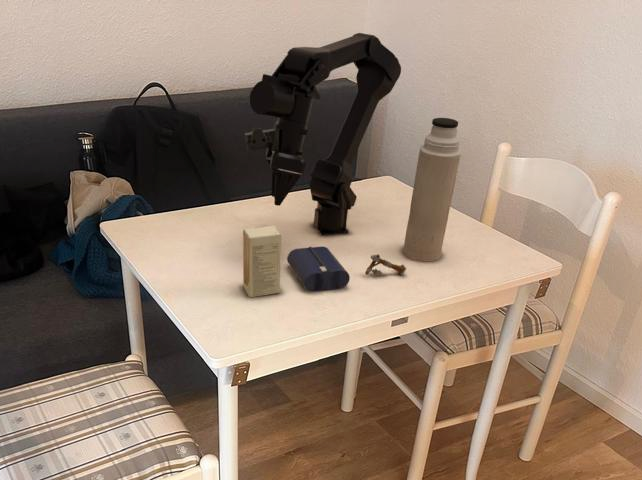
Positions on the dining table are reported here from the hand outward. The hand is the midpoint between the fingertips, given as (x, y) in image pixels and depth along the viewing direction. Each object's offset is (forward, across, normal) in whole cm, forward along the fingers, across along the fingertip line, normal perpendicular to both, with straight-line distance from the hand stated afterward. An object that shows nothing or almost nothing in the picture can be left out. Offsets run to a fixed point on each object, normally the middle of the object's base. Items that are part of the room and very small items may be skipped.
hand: (275, 200), depth 135 cm
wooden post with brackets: (+9, +7, +24) cm, 27 cm away
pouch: (+12, +8, +10) cm, 18 cm away
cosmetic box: (+15, +13, 0) cm, 20 cm away
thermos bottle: (+5, -4, +34) cm, 34 cm away
